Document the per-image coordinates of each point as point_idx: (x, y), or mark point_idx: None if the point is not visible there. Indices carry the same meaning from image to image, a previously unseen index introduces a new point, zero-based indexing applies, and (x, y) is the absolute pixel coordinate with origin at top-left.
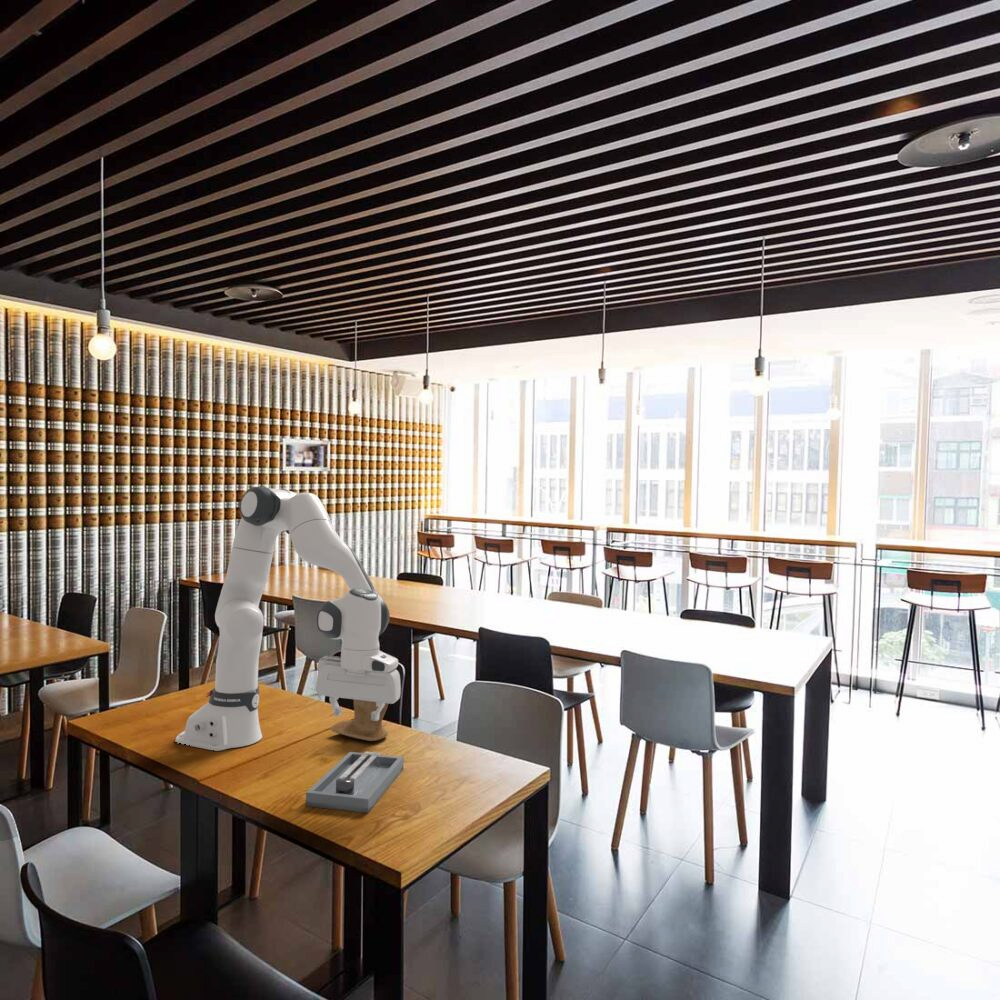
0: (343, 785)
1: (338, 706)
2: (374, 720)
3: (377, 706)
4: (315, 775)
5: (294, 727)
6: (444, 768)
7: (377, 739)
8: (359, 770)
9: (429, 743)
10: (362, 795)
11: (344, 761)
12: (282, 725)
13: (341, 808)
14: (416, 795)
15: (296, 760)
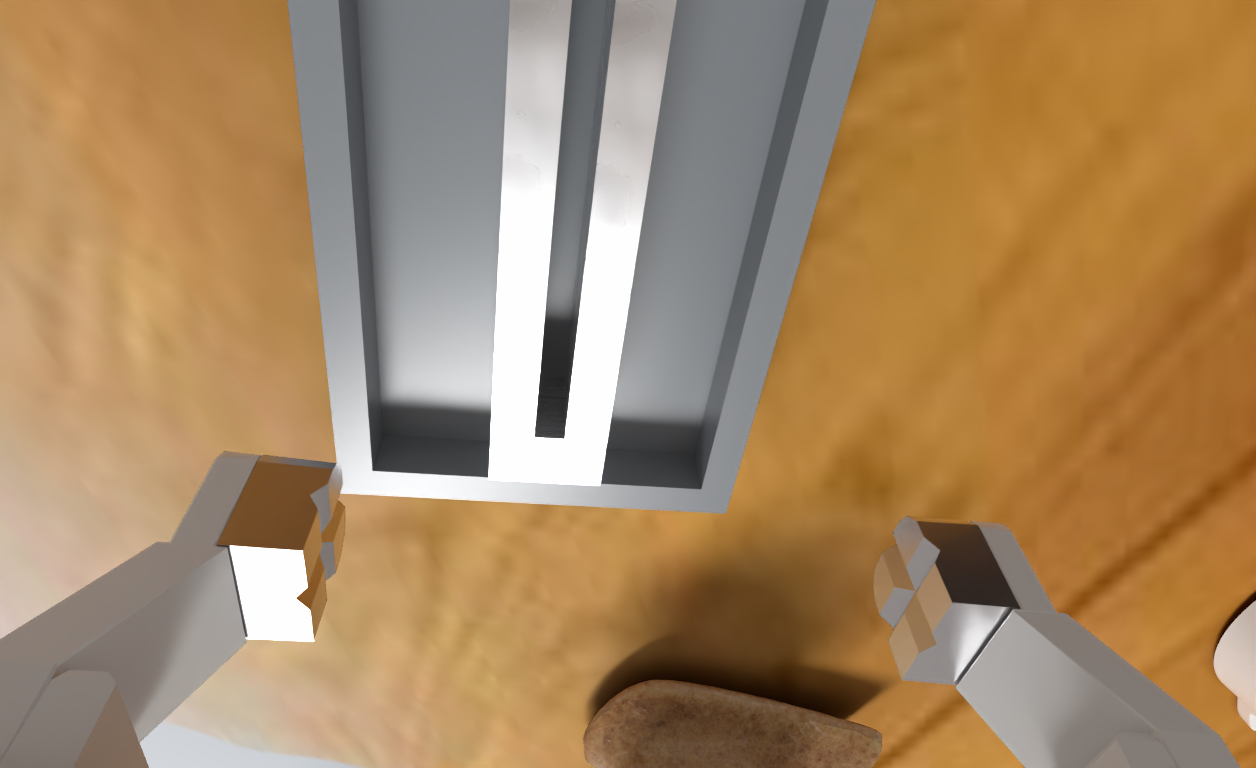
0: None
1: (970, 681)
2: (276, 459)
3: (80, 671)
4: (901, 281)
5: None
6: (105, 479)
7: (619, 694)
8: (539, 139)
9: (351, 711)
10: None
11: (729, 379)
12: None
13: None
14: (43, 38)
15: (1033, 456)
